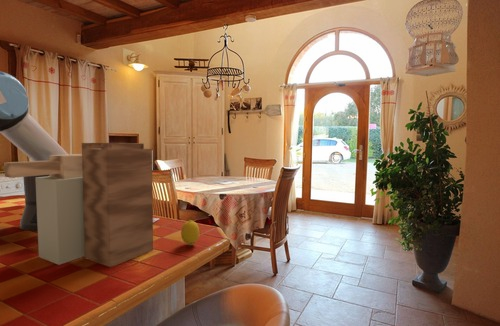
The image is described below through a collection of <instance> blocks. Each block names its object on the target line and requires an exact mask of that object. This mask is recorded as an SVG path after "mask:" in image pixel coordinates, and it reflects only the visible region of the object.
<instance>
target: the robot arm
mask: <svg viewBox="0 0 500 326" xmlns="http://www.w3.org/2000/svg"><path fill="white" fill-rule="evenodd" d="M27 94H28V92H27V90H26V88H25V86H24V85H23V84H22V83H21V81H20V80H19V79H17V78H16V76H13V75H12V74H9V73H7V72H4V71H0V134H1V135H2V136H4V137H5V138H6V139H7V140H8V141H9V142H10V143H11V144H13V146H15V147H16V148H17V149H19V150H20V151H21V152H22V153H23V154H24V155H25V156H27V157H28V158H29V159H31V160H30V161H47V160H49V155H66V154H69V153H68V152H67V151H66V150H65V149H64V148H63V147H62V146H61V145H60V144H59V143H58V142H57V141H56V140H55V139H54V138H53V137H52V136H51V135H50V134H49V132H48V131H47V130H45V129H44V128H43V127H42V125H41V124H40V123H39V122H38V121H36V120H35V119H34V117H33V116H32V115H31V114H30V105H29V102H30V101H29V97H28V96H27ZM47 176H50V174H49V175H38V176H27V177H22V178H23V188H24V189H23V191H24V210H23V213H22V215H21V217H20V221H19V228H20V229H21V230H24V231H38V225H37V201H36V177H47Z"/></svg>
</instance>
